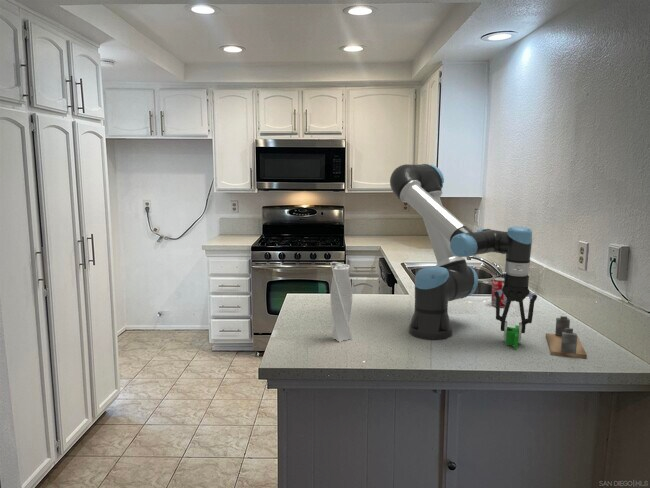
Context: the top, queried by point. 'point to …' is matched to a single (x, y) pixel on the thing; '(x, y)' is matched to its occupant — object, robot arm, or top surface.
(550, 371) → the top surface
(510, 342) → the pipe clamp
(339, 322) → the skyscraper
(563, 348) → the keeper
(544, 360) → the top surface
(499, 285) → the soda can
